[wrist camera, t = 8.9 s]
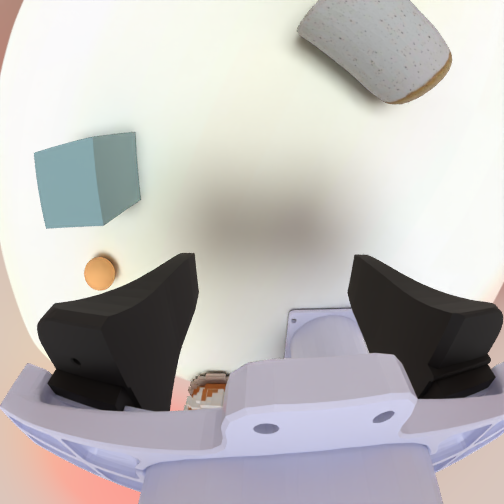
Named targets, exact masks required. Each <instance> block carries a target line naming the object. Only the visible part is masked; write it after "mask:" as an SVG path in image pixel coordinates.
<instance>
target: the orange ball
mask: <svg viewBox="0 0 504 504" xmlns="http://www.w3.org/2000/svg"><path fill="white" fill-rule="evenodd" d="M84 276H85V280H86V282H87V284H88V285H89V286H90V287H91V288H93V289H95V290H105V289H107V288H109V287H110V286H111V285H112V283H113V281H114V278H115V270H114V267H113V265H112V263H111V262H110V261H109V260H107V259H105V258H102V257H96V258H93V259H91V260H90V261H89V262H88V263H87V265H86V267H85V271H84Z"/></svg>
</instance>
